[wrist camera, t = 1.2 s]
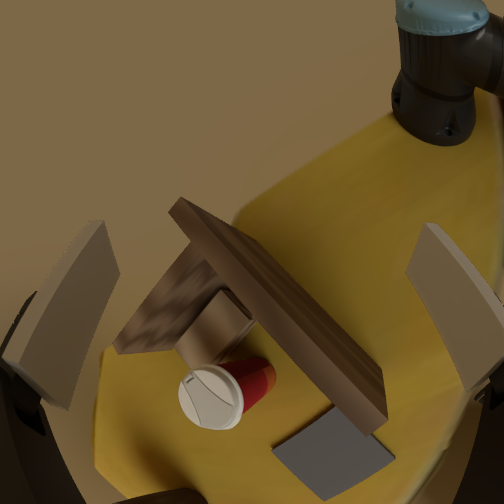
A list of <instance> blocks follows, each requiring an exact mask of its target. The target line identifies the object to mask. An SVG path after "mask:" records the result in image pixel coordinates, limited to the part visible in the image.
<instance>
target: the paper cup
mask: <svg viewBox="0 0 504 504" xmlns="http://www.w3.org/2000/svg"><path fill="white" fill-rule="evenodd" d="M275 381H276V373H275V370H274V368H273V366H272V365H271V364H270V363H269V362H268V361H266V360H264V359H261V358H251V359H245V360H239V361H234V362H228V363H223V364H217V365H213V364H201V365H197V366H195V367H193V368H192V369H191V370H190V371H189V372H188V373H187V374H186V376H185V378H184V379H183V380H182V381H181V383H180V386H179V401H180V404H181V407H182V409H183V411H184V413H185V414H186V416H187V417H188V418H189V419H190V420H191V421H192V422H193V423H195V424H196V425H198V426H200V427H203V428H209V429H215V430H222V429H230V428H232V427H234V426H235V425H236V424H237V423H238V422H239V421H240V418H241V415H242V414H243V413H245V412H246V411H247V410H248V409H249V408H251V407H252V406H253V405H254V404H255V403H256V402H258V401H259V400H260V399H261V398H262V397H263V396H264V395H266V394H267V393H268V392H269V391H270V390H271V389H272V387H273V386H274V384H275Z"/></svg>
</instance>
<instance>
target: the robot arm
mask: <svg viewBox="0 0 504 504" xmlns="http://www.w3.org/2000/svg"><path fill="white" fill-rule="evenodd" d="M395 19H396V23H397V25H398V32H399V42H400V54H401V70H400V72H399V74H398V77H397V79H396V81H395V83H394V85H393V88H392V94H391V95H392V96H391V97H392V109H393V112H394V114H395V116H396V118H397V120H398V121H399V122H400V124H401V125H402V126H403V127H404V128H405V129H406V130H407V131H408V132H410V133H411V134H412V135H414V136H415V137H417V138H419V139H421V140H423V141H425V142H428V143H430V144H434V145H438V146H455V145H458V144H461V143H463V142H464V141H466V140H467V139H468V138H469V137H470V135H471V133H472V131H473V129H474V126H475V122H476V108H475V100H474V89H475V86H476V87H478V88H481V89H483V90H485V91H488V92H490V93H492V94H494V95H496V96H498V97H500V98H502V99H504V17H503V18H502V17H499V16H497V15H494V14H492V13H490V12H489V11H488V9H487V7H486V5H485V4H484V2H483V1H482V0H396V17H395ZM405 273H406V274H407V276H408V277H409V279H410V281H411V282H412V284H413V286H414V287H415V289H416V291H417V293H418V294H419V296H420V298H421V300H422V301H423V303H424V305H425V307H426V308H427V310H428V312H429V314H430V316H431V318H432V319H433V321H434V323H435V325H436V327H437V329H438V331H439V333H440V335H441V337H442V339H443V341H444V343H445V345H446V347H447V349H448V351H449V353H450V356H451V358H452V360H453V362H454V364H455V367H456V369H457V371H458V373H459V376H460V378H461V380H462V383H463V385H464V388H465V390H466V392H468V391H470V390H473V389H475V388H477V387H479V386H480V385H481V384H482V383H483V382H484V381H485V380H486V379H488V378H489V379H490V381H491V382H490V383H489V384H487V385H486V386H485V387H484V388H483V389H482V390H481V391H480V392H479V393H478V394H477V395H476V396H475V398H474V400H475V401H476V400H477V399H478V398H480V397H481V396H482V395H483V394H485V395H484V396H483V397H482V398H481V399H480V400H479V402H480V403H482V404H483V408H482V412H481V417H480V422H479V426H478V430H477V434H476V438H475V442H474V446H473V449H472V452H471V455H470V459H469V462H468V465H467V468H466V471H465V473H464V476H463V479H462V481H461V484H460V487H459V489H458V491H457V494H456V496H455V498H454V501H453V503H452V504H504V305H502V303H501V301H500V300H499V298H498V297H497V295H496V294H495V293H494V292H493V291H492V289H491V288H490V287H489V285H488V284H487V282H486V281H485V280H484V278H483V277H482V276H481V275H480V273H479V272H478V271H477V269H476V268H475V267H474V266H473V264H472V263H471V262H470V261H469V259H468V258H467V257H466V256H465V255H464V253H463V252H462V251H461V250H460V249H459V247H458V246H457V245H456V244H455V243H454V242H453V241H452V239H451V238H450V237H449V236H448V235H447V234H446V233H445V232H444V231H443V230H442V228H441V227H440V226H439V225H438V224H437V223H424V225H423V228H422V231H421V234H420V236H419V239H418V242H417V245H416V247H415V250H414V252H413V255H412V258H411V260H410V263H409V265H408V267H407V270H406V272H405ZM119 276H120V272H119V268H118V266H117V262H116V259H115V256H114V253H113V250H112V247H111V243H110V240H109V236H108V233H107V229H106V226H105V222H104V220H96V221H88V222H87V223H86V225H85V226H84V227H83V228H82V230H81V231H80V232H79V233H78V235H77V236H76V237H75V239H74V240H73V241H72V242H71V244H70V245H69V246H68V248H67V249H66V251H65V252H64V253H63V255H62V256H61V257H60V259H59V260H58V262H57V263H56V265H55V266H54V267H53V269H52V270H51V272H50V273H49V275H48V276H47V278H46V279H45V281H44V282H43V284H42V285H41V287H40V288H39V290H38V291H35V292H34V293H33V294H32V295H31V297H29V298H28V299H27V300H26V302H25V303H24V305H23V306H22V308H21V310H20V312H19V314H18V315H17V317H16V319H15V320H14V324H12V326H11V328H10V329H9V331H8V333H7V335H6V337H5V339H4V341H3V343H2V345H1V347H0V504H86V502H85V500H84V499H83V497H82V495H81V493H80V492H79V490H78V488H77V486H76V484H75V482H74V480H73V479H72V476H71V475H70V473H69V470H68V468H67V466H66V464H65V462H64V460H63V458H62V455H61V453H60V451H59V448H58V446H57V443H56V441H55V439H54V436H53V433H52V431H51V428H50V425H49V422H48V420H47V417H46V414H45V411H44V408H43V407H42V405H41V404H40V400H41V397H42V398H43V399H44V400H45V401H46V402H48V403H49V404H50V405H51V406H54V407H57V408H60V409H63V410H66V411H69V407H70V404H71V400H72V397H73V394H74V390H75V387H76V384H77V381H78V378H79V375H80V372H81V368H82V366H83V363H84V360H85V358H86V355H87V352H88V349H89V347H90V344H91V341H92V339H93V336H94V334H95V331H96V328H97V326H98V324H99V321H100V319H101V316H102V314H103V312H104V309H105V307H106V305H107V302H108V300H109V298H110V295H111V293H112V291H113V289H114V286H115V285H116V282H117V280H118V278H119Z"/></svg>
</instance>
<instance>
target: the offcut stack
mask: <svg viewBox="0 0 504 504" xmlns="http://www.w3.org/2000/svg"><path fill="white" fill-rule="evenodd" d="M257 322H258V321H257V320H256V318H255V317H254V316H253V315H252V314H251V313H250V311H249V310H248V309H247V308H246V307H245V306H244V304H243V303H242V302H241V301H240V300H239V299H238V297H237V296H236V295H235V294H234V293H233V292H232V291H227V290H224V289H221V290H220V291H219V292H218V293H217V294H216V296H215V297H214V298H213V299H212V301H211V302H210V303H209V304H208V305H207V307H206V308H205V309H204V310H203V311H202V313H201V314H200V315H199V316H198V317H197V319H196V320H195V321H194V322H193V324H192V325H191V326H190V327H189V328H188V330H187V331H186V332H185V333H184V334H183V336H182V337H181V338H180V339H179V341H178V342H177V343H176V344H175V345H174V348H175V349H176V350H177V352H178V353H179V354H180V356H181V357H182V358H183V360H184V361H185V362H186V363H187V365H188V366H189V367H190V369H192V368H193V367H195V366H197V365H201V364H213V365H217V364H222V363H223V362H224V361H225V360H226V359H227V358H228V356H229V355H230V354H231V353H232V352H233V351H234V349H235V348H236V347H237V346H238V345H239V343H240V342H241V341H242V340H243V339H244V337H245V336H246V335H247V334H248V333H249V331H250V330H251V329H252V328H253V326H254V325H255V324H256V323H257Z"/></svg>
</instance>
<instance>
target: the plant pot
mask: <svg viewBox="0 0 504 504" xmlns="http://www.w3.org/2000/svg"><path fill="white" fill-rule="evenodd" d="M113 504H208V503H207V501H206V500H205V499H204V497H202V496H201V495H200V494H199V493H197V492H196V491H194V490H192V489H189V488H180V489H174V490H168V491H162V492H157V493H152V494H148V495H143V496H139V497H135V498H131V499H128V500H125V501H120V502H116V503H113Z"/></svg>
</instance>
